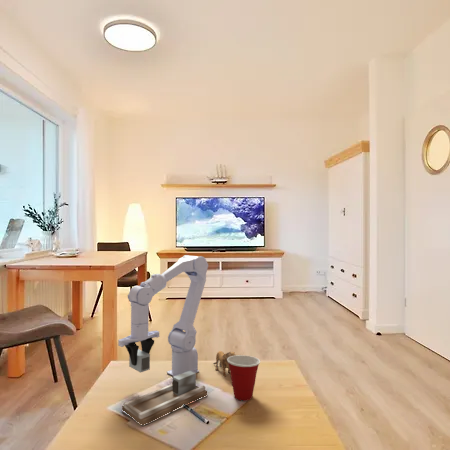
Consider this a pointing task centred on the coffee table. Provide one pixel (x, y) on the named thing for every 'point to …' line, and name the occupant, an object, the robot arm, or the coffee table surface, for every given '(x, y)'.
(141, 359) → the gripped grey block
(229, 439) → the coffee table surface
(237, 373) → the plastic cup
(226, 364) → the lion figurine
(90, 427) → the coffee table surface
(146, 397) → the raised edge track
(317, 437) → the coffee table surface
